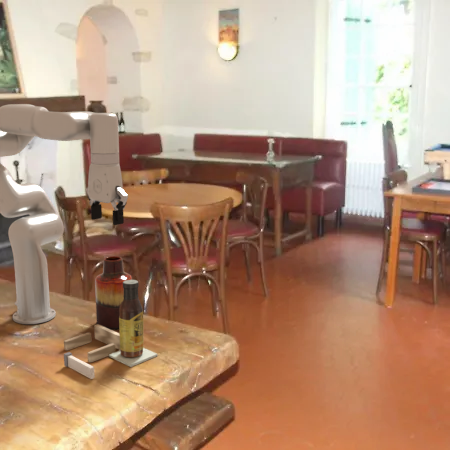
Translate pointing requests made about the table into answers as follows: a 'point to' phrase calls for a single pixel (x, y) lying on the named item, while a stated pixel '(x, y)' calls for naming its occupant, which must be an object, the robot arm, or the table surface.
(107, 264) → the vase
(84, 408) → the table surface
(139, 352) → the sauce bottle
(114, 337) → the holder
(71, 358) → the bar
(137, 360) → the tile
